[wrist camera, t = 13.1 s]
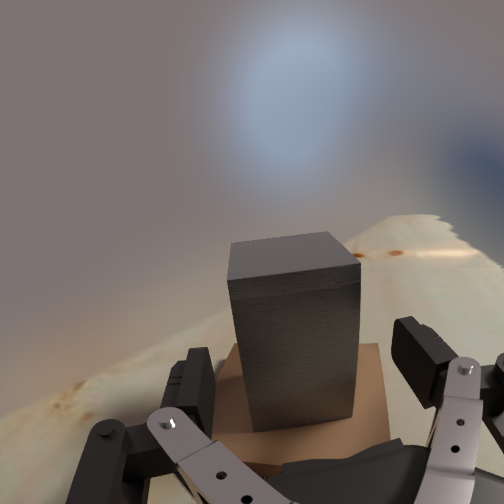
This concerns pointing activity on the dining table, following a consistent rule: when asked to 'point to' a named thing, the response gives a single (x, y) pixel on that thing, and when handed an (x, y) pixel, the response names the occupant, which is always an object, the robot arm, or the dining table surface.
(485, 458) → the dining table surface
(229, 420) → the wooden square base
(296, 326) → the brushed steel block
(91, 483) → the robot arm
